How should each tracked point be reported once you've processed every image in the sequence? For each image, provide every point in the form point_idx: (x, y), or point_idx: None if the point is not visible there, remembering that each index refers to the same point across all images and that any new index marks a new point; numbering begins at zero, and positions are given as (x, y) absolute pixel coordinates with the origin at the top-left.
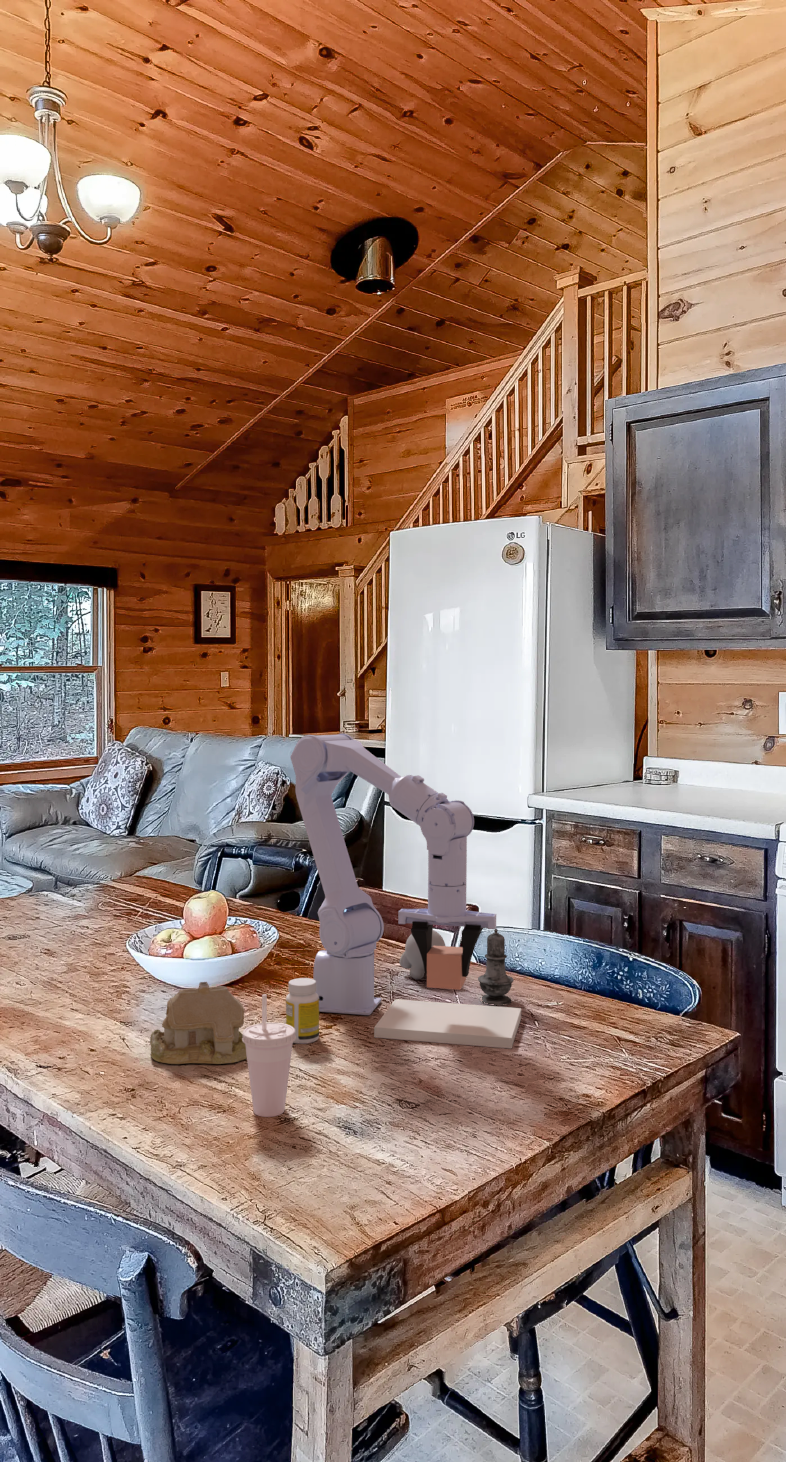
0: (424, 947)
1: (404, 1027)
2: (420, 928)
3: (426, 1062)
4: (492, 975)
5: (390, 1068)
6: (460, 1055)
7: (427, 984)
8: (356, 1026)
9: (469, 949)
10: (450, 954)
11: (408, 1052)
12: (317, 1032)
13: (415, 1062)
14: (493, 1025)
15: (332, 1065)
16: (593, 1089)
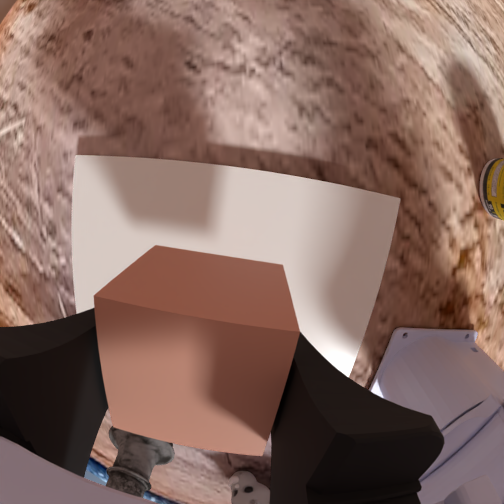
0: (318, 381)
1: (331, 199)
2: (367, 486)
3: (264, 47)
4: (138, 445)
5: (335, 20)
6: (188, 94)
7: (281, 268)
8: (421, 266)
9: (44, 328)
10: (150, 322)
11: (309, 101)
12: (488, 177)
13: (288, 46)
14: (111, 235)
15: (436, 49)
16: (17, 29)
